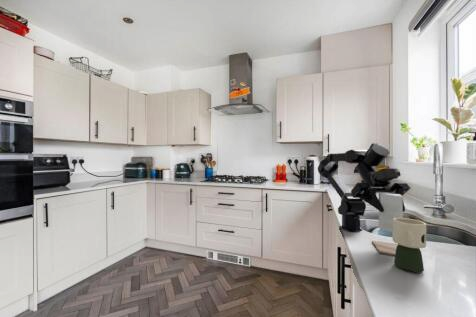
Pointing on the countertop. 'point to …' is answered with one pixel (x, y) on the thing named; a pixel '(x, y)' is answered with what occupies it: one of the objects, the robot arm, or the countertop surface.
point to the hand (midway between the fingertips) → (393, 211)
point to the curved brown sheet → (385, 248)
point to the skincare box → (390, 210)
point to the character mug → (409, 243)
